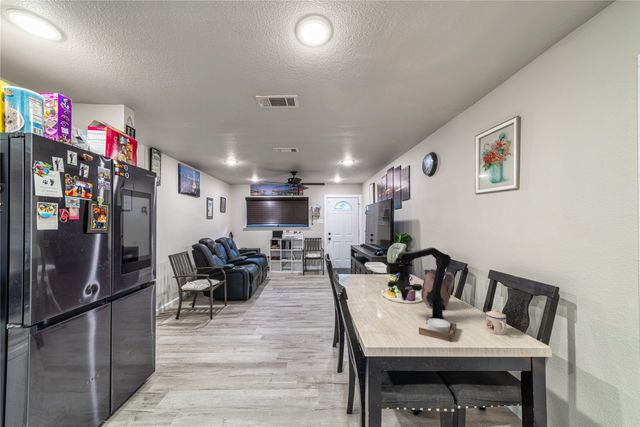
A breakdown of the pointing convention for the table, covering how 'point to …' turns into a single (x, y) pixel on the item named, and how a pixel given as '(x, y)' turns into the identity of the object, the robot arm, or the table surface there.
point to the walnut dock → (439, 334)
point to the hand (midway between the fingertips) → (404, 300)
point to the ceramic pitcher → (429, 284)
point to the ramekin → (439, 325)
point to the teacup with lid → (496, 322)
